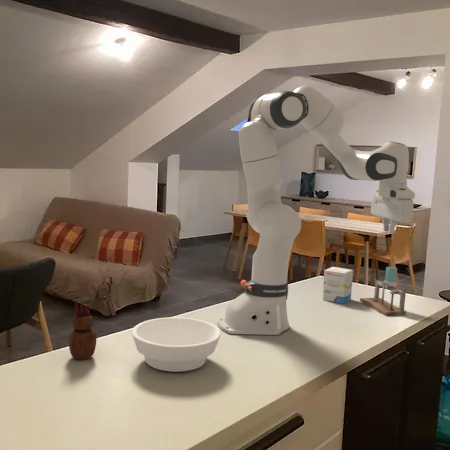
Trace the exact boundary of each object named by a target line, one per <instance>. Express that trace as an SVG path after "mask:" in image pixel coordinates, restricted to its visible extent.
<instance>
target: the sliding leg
mask: <svg viewBox="0 0 450 450" xmlns="http://www.w3.org/2000/svg"><path fill="white" fill-rule="evenodd" d="M397 274H398V268H397V267H395V266H386V267H385V276H384V280H383V281H381V282H382V285H383V287H382V292H381V299H382V302H381V304H383V302H384V300H385V289H386V288H385V285H386V286H388V287H397V286H398V281H397V277H398V276H397Z"/></svg>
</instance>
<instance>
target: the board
mask: <svg viewBox="0 0 450 450" xmlns="http://www.w3.org/2000/svg"><path fill="white" fill-rule="evenodd" d="M382 282H383V281H381V280H378V279H376V280H375V281H374V283H375V285H374V296H373V297H360V298H359V302H360V301H361V303H362V302H363V303H362V304H364V305H366V306H367V305H368V306H367V307H369V306H370V307H369V308H371V309H373V310H374V311H376V312H378V313H380V314H381V315H383V316H385V317H389V316H390V317H391V316H393V317H394V316H406V315H407V311H406V310H405V305H406V303H405V302H406V294H407V293H406V292H405V291H403V290H402V289H401V290H400V289H398V288H397V287H395V286H393V287H388V286H386V285H385V289H386V290H388V291H390V295H391V297H390V302H389V301H386V300H385V299H384V302H383V304H381V302H382V297H381V298H380V287H382V288H383V285H382ZM394 295H399V304H398V305H399V307H398V306H396V305H394V297H395V296H394Z"/></svg>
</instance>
